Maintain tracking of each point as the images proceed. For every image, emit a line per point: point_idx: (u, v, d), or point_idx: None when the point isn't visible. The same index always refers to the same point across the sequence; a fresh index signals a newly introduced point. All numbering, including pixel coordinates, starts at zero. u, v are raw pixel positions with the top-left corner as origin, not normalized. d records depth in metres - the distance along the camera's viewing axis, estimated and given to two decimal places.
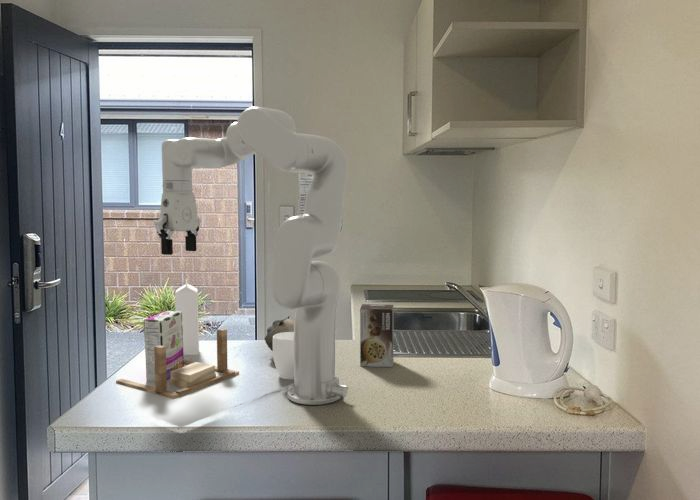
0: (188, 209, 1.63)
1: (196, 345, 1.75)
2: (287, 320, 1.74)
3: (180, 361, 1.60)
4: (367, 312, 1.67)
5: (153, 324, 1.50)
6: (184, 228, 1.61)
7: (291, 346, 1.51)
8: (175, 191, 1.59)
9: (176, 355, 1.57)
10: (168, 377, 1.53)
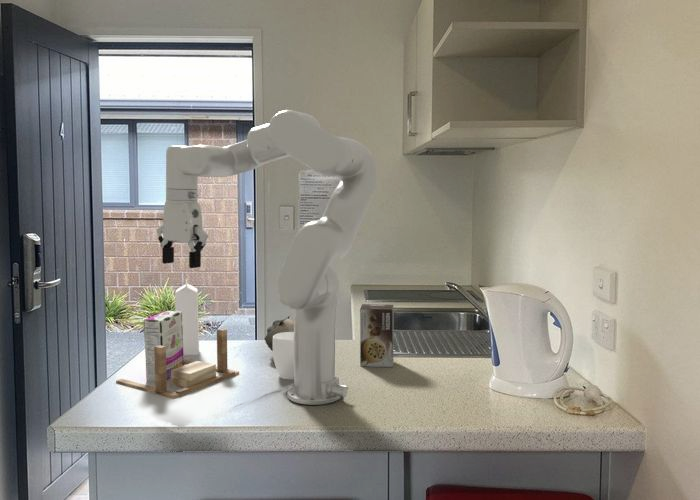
0: None
1: (196, 345, 1.75)
2: (287, 320, 1.74)
3: (180, 361, 1.60)
4: (367, 312, 1.67)
5: (153, 324, 1.50)
6: None
7: (291, 346, 1.51)
8: (196, 201, 1.53)
9: (176, 355, 1.57)
10: (168, 377, 1.53)
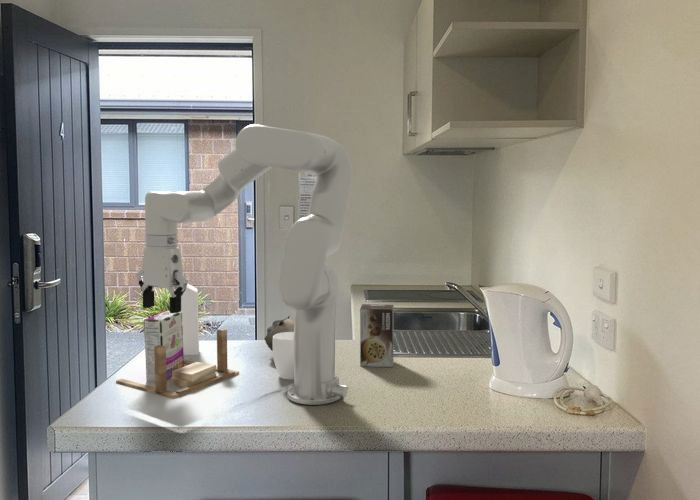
0: None
1: (196, 345, 1.75)
2: (287, 320, 1.74)
3: (180, 361, 1.60)
4: (367, 312, 1.67)
5: (153, 324, 1.50)
6: None
7: (291, 346, 1.51)
8: (176, 245, 1.53)
9: (176, 355, 1.57)
10: (168, 377, 1.53)
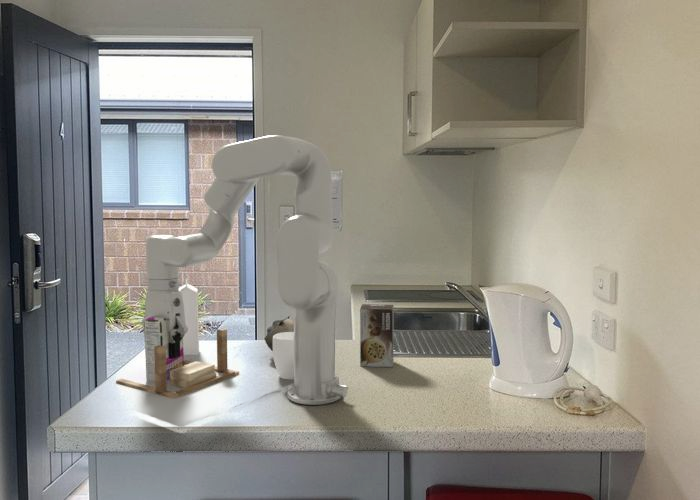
0: None
1: (196, 345, 1.75)
2: (287, 320, 1.74)
3: (180, 361, 1.60)
4: (367, 312, 1.67)
5: (153, 324, 1.50)
6: None
7: (291, 346, 1.51)
8: (177, 288, 1.54)
9: None
10: (168, 377, 1.53)
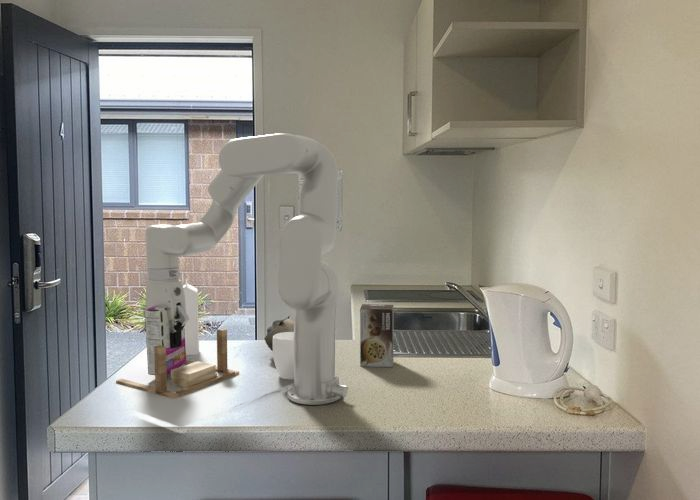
0: None
1: (196, 345, 1.75)
2: (287, 320, 1.74)
3: (182, 352, 1.59)
4: (367, 312, 1.67)
5: (153, 314, 1.49)
6: None
7: (291, 346, 1.51)
8: (178, 278, 1.54)
9: None
10: (169, 367, 1.53)
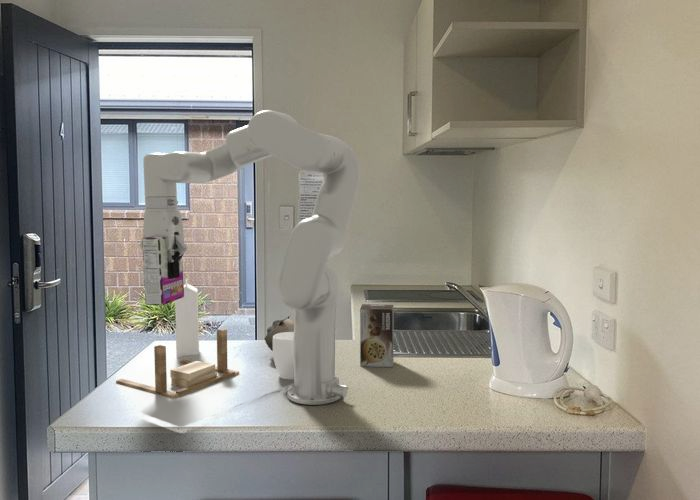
0: None
1: (196, 345, 1.75)
2: (287, 320, 1.74)
3: (180, 285, 1.57)
4: (367, 312, 1.67)
5: (151, 242, 1.47)
6: None
7: (291, 346, 1.51)
8: (176, 208, 1.52)
9: None
10: (167, 297, 1.51)
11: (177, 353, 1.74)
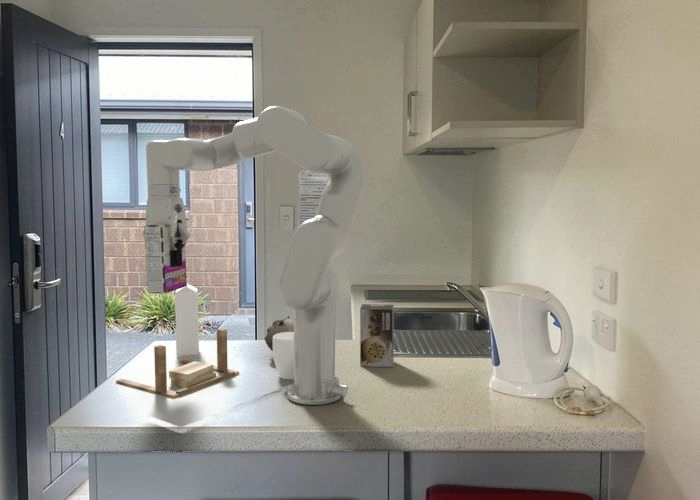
0: None
1: (196, 345, 1.75)
2: (287, 320, 1.74)
3: (183, 274, 1.56)
4: (367, 312, 1.67)
5: (153, 229, 1.46)
6: None
7: (291, 346, 1.51)
8: (179, 196, 1.51)
9: (178, 266, 1.54)
10: (170, 286, 1.50)
11: (177, 353, 1.74)
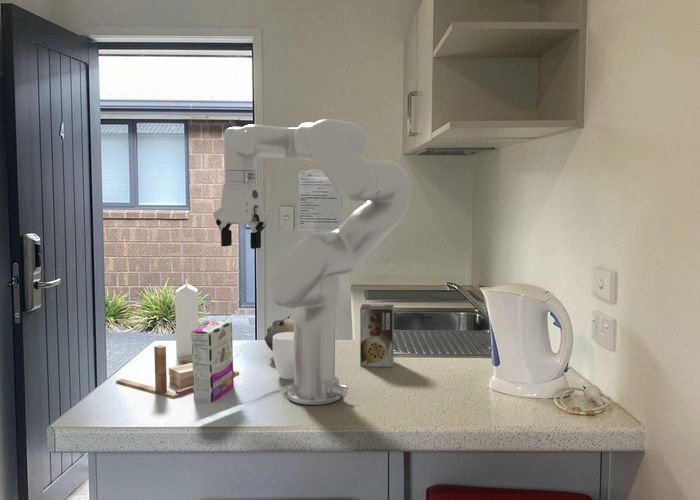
0: None
1: None
2: (287, 320, 1.74)
3: (230, 376, 1.46)
4: (367, 312, 1.67)
5: (201, 336, 1.36)
6: None
7: (291, 346, 1.51)
8: None
9: (226, 370, 1.44)
10: (217, 394, 1.39)
11: (177, 353, 1.74)
